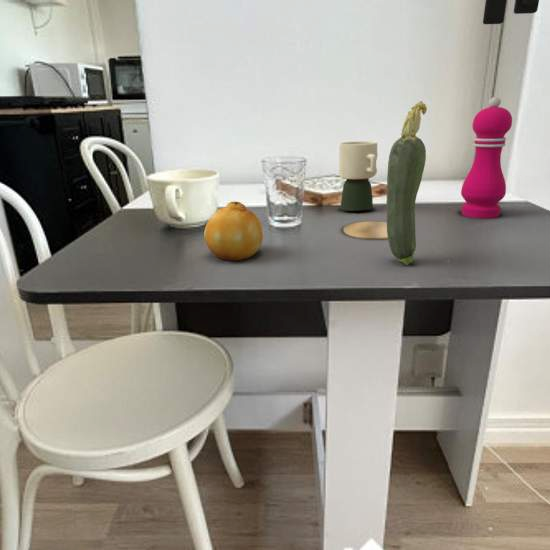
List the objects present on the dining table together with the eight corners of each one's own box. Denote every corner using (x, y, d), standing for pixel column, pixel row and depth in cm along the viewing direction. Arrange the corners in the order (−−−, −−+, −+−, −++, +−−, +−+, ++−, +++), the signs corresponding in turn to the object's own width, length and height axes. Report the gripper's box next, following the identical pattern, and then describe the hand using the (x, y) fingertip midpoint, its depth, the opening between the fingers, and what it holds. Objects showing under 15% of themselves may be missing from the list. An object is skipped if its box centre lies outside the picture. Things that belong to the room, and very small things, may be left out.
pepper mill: (490, 222, 75) (508, 96, 67) (451, 216, 80) (463, 98, 73) (509, 214, 79) (527, 95, 72) (470, 208, 84) (483, 97, 77)
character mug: (388, 214, 83) (392, 143, 78) (356, 219, 81) (358, 146, 76) (356, 204, 93) (358, 139, 88) (327, 208, 90) (327, 142, 85)
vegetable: (380, 266, 57) (388, 102, 50) (384, 256, 61) (392, 102, 54) (416, 269, 56) (429, 100, 48) (418, 258, 59) (431, 100, 52)
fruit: (275, 232, 66) (245, 188, 63) (269, 254, 59) (234, 205, 56) (232, 258, 69) (201, 216, 66) (221, 281, 61) (186, 236, 59)
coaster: (401, 224, 76) (401, 221, 76) (409, 240, 67) (409, 237, 67) (343, 224, 78) (343, 221, 78) (343, 240, 69) (343, 237, 68)
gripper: (598, -154, 54) (567, 7, 60) (522, -96, 70) (503, 26, 76) (537, -153, 54) (512, 9, 60) (475, -95, 70) (461, 27, 76)
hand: (507, 18), depth 68 cm, fingers open, 9 cm apart
